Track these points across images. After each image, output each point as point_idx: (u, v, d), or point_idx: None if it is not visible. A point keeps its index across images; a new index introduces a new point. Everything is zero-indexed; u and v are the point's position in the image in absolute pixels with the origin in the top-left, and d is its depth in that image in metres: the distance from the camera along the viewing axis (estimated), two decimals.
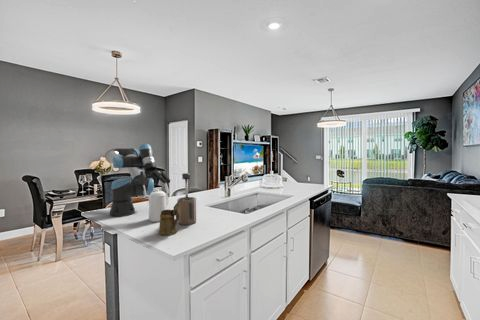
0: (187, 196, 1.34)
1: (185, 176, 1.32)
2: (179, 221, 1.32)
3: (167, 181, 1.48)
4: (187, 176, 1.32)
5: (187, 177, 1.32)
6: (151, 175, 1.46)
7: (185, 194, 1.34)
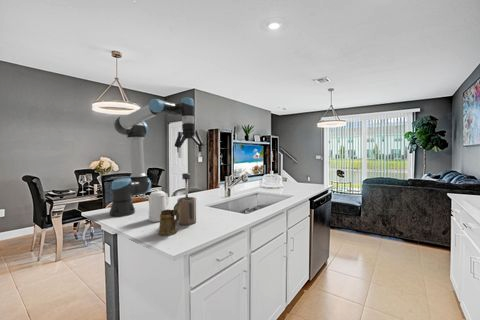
0: (187, 196, 1.34)
1: (185, 176, 1.32)
2: (179, 221, 1.32)
3: (198, 145, 1.40)
4: (187, 176, 1.32)
5: (187, 177, 1.32)
6: (186, 137, 1.44)
7: (185, 194, 1.34)
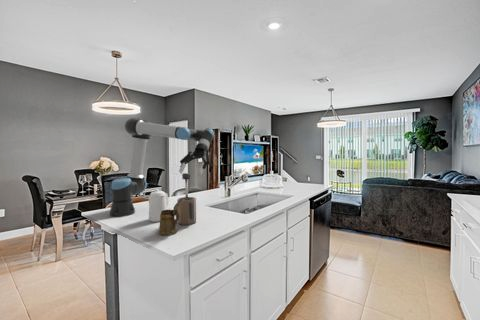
0: (187, 196, 1.34)
1: (185, 176, 1.32)
2: (179, 221, 1.32)
3: (204, 161, 1.38)
4: (187, 176, 1.32)
5: (187, 177, 1.32)
6: (195, 155, 1.45)
7: (185, 194, 1.34)
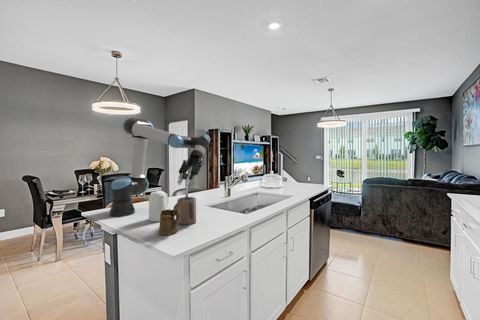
0: (187, 196, 1.34)
1: (185, 176, 1.32)
2: (179, 221, 1.32)
3: (190, 172, 1.32)
4: (187, 176, 1.32)
5: None
6: (190, 162, 1.40)
7: (185, 194, 1.34)
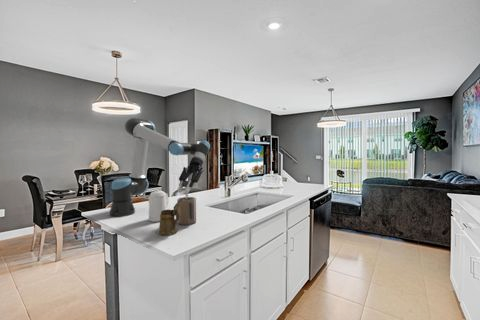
0: None
1: (185, 184, 1.32)
2: (179, 221, 1.32)
3: (191, 179, 1.33)
4: (187, 184, 1.32)
5: None
6: (190, 169, 1.40)
7: None
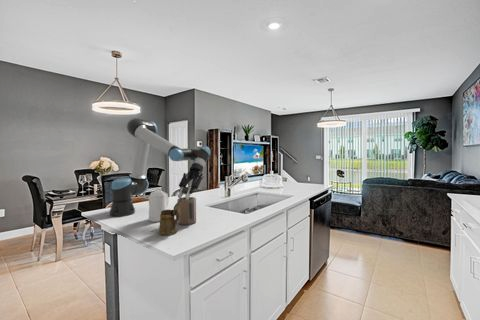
0: None
1: (185, 190, 1.32)
2: (179, 221, 1.32)
3: (191, 185, 1.33)
4: (187, 190, 1.32)
5: (187, 191, 1.32)
6: (190, 175, 1.40)
7: None
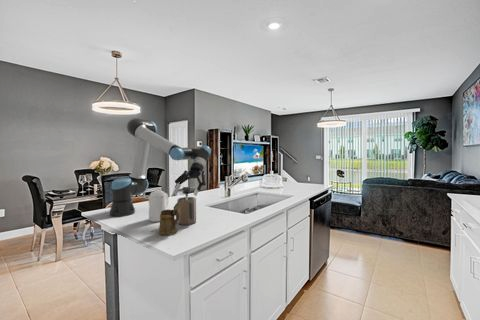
0: None
1: (185, 190, 1.32)
2: (179, 221, 1.32)
3: (199, 182, 1.33)
4: (187, 190, 1.32)
5: (187, 191, 1.32)
6: (191, 175, 1.40)
7: None
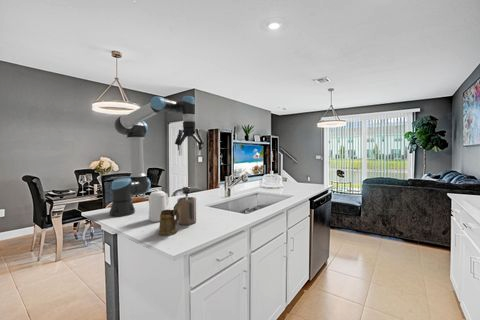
0: None
1: (185, 190, 1.32)
2: (179, 221, 1.32)
3: (198, 144, 1.42)
4: (187, 190, 1.32)
5: (187, 191, 1.32)
6: (187, 134, 1.46)
7: None
